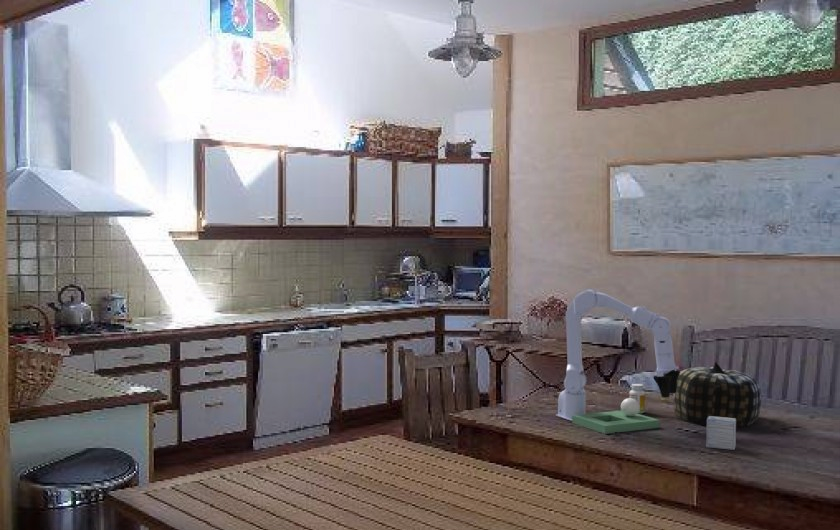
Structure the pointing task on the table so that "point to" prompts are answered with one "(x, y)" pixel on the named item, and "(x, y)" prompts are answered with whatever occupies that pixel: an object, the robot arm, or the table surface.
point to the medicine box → (721, 432)
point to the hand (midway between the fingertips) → (669, 395)
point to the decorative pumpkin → (716, 395)
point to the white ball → (630, 407)
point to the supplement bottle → (638, 396)
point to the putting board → (614, 422)
